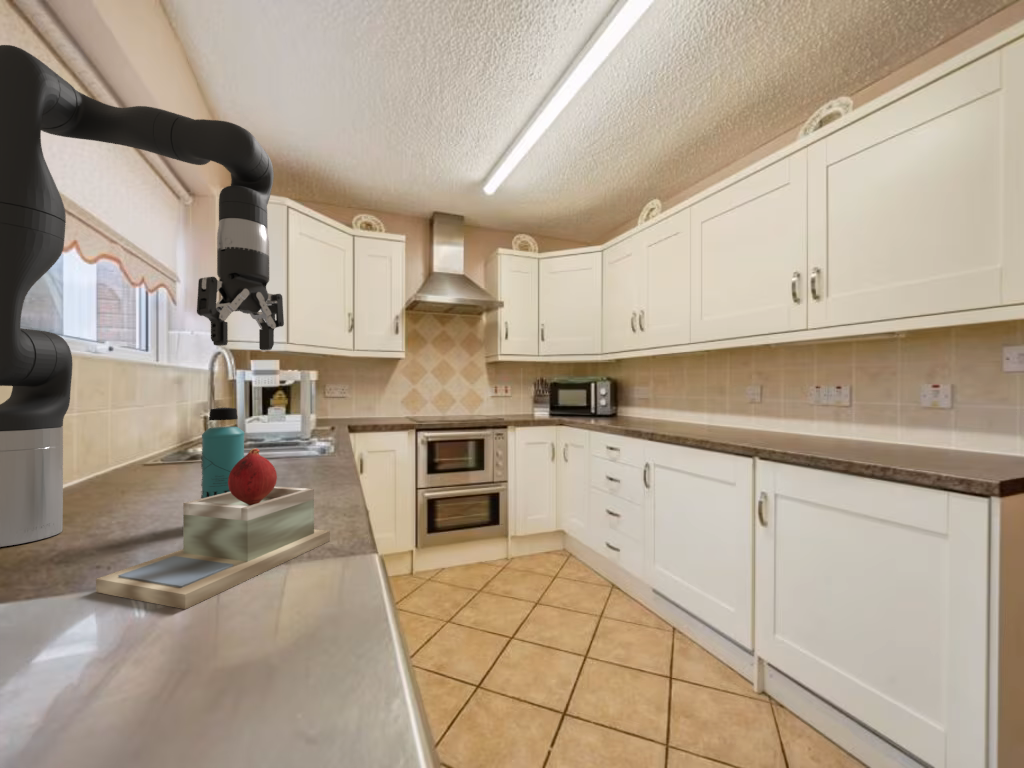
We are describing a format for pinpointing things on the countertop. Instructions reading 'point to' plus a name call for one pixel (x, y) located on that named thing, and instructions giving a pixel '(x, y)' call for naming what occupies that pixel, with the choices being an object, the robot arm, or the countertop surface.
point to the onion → (252, 478)
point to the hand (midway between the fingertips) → (244, 347)
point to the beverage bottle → (220, 453)
